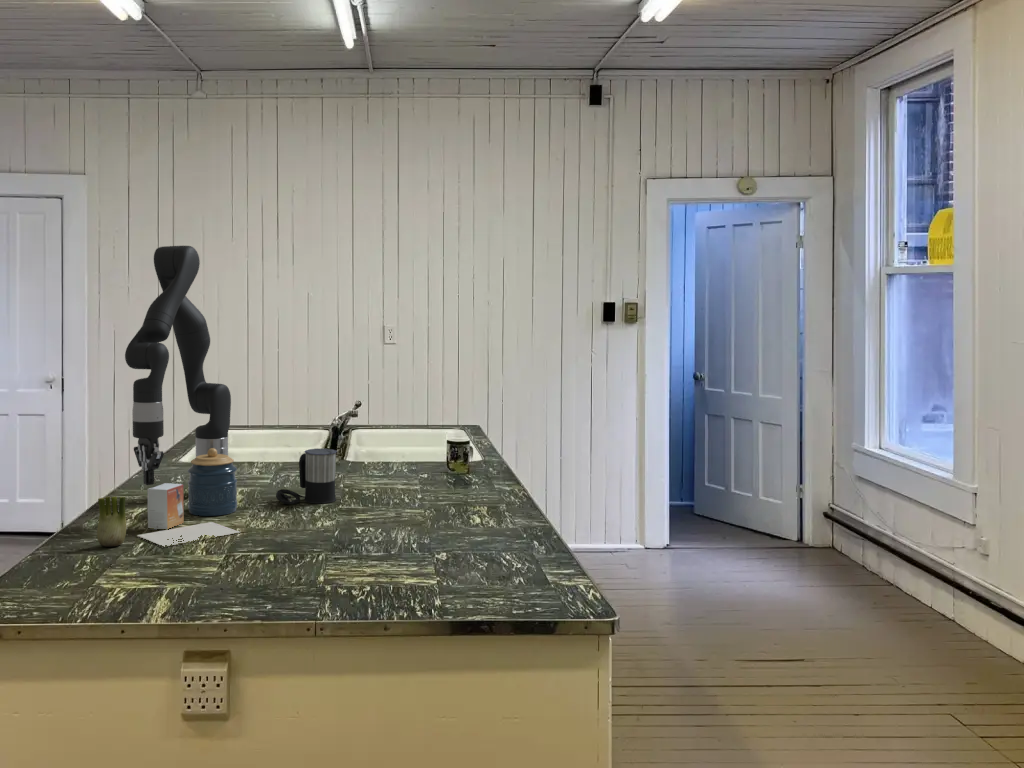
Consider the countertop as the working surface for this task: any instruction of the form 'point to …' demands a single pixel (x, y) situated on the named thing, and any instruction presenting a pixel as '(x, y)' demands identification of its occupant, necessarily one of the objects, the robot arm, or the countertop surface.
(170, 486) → the small box
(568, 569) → the countertop surface
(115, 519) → the fennel bulb
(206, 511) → the canister
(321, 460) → the milk frother
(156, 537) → the mat
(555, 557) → the countertop surface
